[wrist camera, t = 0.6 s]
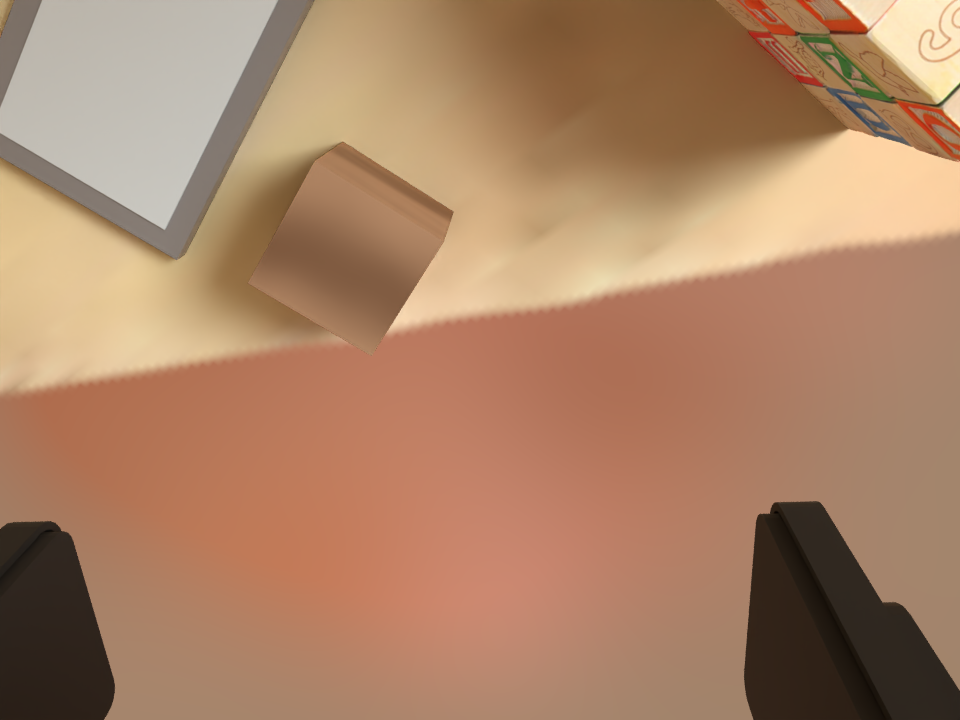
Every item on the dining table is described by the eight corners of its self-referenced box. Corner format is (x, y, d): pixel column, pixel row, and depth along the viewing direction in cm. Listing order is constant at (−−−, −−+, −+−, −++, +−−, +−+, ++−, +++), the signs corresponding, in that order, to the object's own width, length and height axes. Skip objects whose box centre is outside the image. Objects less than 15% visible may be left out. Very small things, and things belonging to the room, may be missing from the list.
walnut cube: (343, 141, 36) (314, 161, 31) (453, 211, 37) (443, 241, 32) (284, 248, 38) (247, 283, 33) (390, 311, 39) (371, 356, 34)
